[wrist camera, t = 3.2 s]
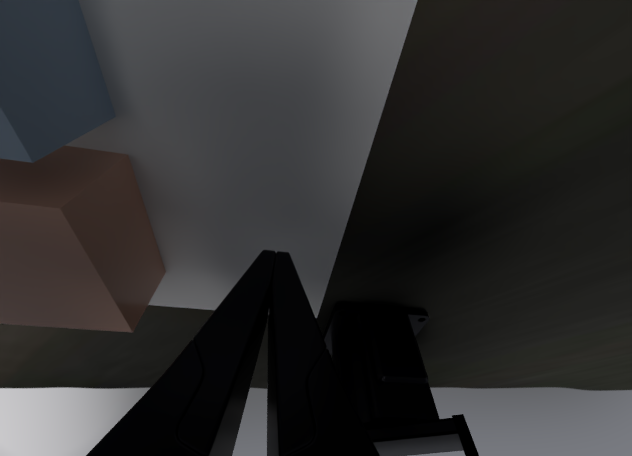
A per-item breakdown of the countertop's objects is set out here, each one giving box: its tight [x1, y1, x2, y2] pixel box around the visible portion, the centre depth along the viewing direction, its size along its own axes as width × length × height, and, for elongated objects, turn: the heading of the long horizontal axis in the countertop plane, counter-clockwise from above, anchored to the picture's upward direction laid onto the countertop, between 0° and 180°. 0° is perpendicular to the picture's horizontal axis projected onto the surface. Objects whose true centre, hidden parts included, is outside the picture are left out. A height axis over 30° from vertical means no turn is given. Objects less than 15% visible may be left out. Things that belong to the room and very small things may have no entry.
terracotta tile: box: [0, 145, 166, 332], centre depth 7 cm, size 5×5×2 cm
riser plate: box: [65, 0, 417, 318], centre depth 8 cm, size 14×15×3 cm
